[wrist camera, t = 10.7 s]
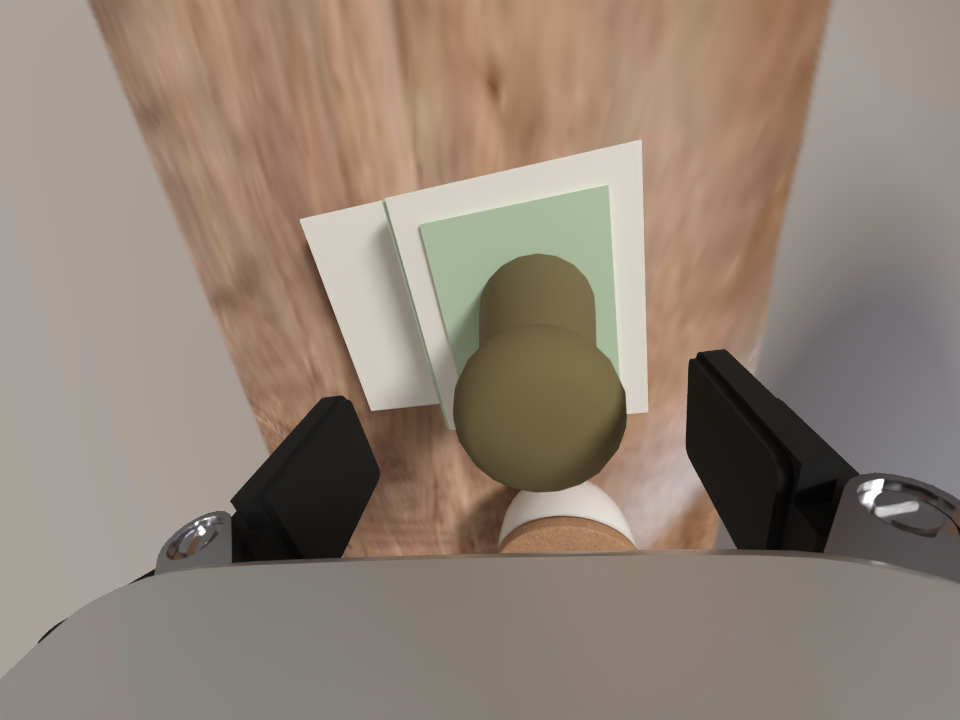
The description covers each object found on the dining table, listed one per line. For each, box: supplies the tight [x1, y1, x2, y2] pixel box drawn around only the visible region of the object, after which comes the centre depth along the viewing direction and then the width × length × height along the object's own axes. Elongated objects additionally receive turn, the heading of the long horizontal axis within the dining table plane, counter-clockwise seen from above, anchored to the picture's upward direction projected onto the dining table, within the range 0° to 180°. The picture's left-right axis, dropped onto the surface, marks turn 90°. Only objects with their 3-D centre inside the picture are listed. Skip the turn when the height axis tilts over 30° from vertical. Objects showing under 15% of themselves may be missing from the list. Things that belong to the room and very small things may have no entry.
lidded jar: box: [497, 481, 637, 553], centre depth 30 cm, size 11×11×9 cm
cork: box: [453, 253, 627, 493], centre depth 15 cm, size 6×6×11 cm
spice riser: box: [299, 140, 648, 430], centre depth 24 cm, size 14×19×7 cm
